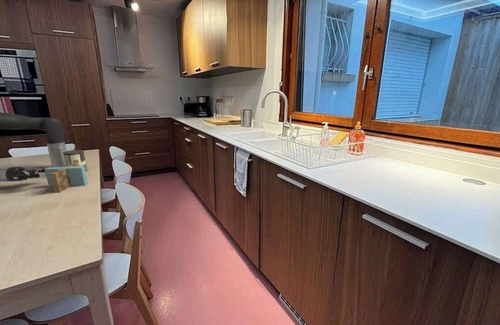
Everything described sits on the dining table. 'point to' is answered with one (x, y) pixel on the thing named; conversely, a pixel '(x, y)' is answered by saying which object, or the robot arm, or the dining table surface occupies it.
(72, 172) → the cross plate
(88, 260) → the dining table surface
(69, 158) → the coffee can
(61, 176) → the base plate
